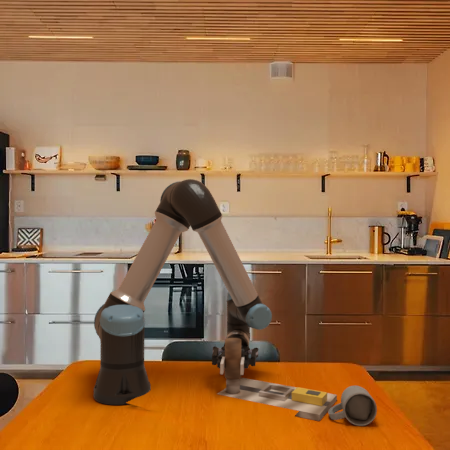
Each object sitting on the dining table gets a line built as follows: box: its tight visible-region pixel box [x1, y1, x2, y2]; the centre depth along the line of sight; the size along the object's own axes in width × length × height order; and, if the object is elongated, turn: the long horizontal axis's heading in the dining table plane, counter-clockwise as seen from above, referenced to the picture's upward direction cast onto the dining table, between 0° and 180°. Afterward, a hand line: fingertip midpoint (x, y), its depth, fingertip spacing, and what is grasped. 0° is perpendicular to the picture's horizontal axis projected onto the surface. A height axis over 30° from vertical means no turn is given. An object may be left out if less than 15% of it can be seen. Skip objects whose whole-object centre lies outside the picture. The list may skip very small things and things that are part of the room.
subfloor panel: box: [216, 377, 338, 422], centre depth 127 cm, size 28×15×3 cm, turn 62°
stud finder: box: [292, 386, 328, 406], centre depth 123 cm, size 8×4×2 cm, turn 61°
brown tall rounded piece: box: [224, 338, 242, 394], centre depth 129 cm, size 4×4×14 cm
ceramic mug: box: [327, 385, 378, 427], centre depth 116 cm, size 11×8×8 cm
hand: (231, 369), depth 124 cm, fingers open, 4 cm apart
